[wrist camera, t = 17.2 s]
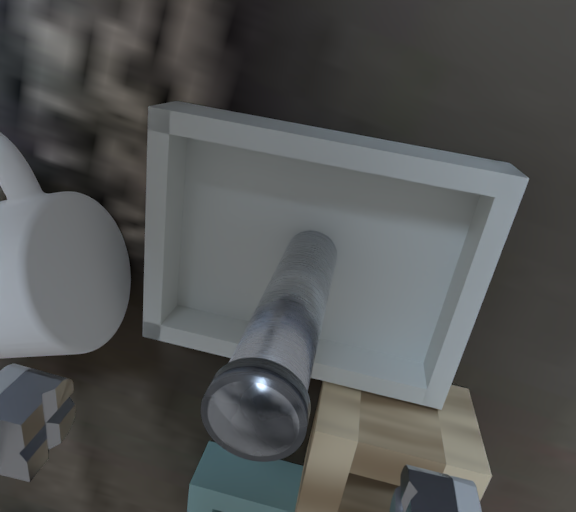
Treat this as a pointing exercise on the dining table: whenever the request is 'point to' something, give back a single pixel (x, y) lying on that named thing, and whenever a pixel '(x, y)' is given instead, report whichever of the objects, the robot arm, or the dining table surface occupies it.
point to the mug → (56, 267)
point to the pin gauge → (274, 358)
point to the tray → (332, 222)
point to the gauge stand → (242, 484)
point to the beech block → (385, 447)
